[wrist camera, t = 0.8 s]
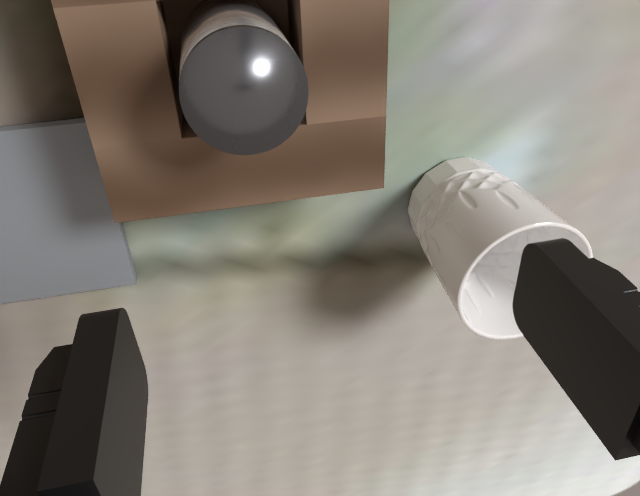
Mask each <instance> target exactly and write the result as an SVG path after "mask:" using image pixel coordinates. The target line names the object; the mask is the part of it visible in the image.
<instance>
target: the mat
mask: <svg viewBox="0 0 640 496" xmlns="http://www.w3.org/2000/svg"><path fill="white" fill-rule="evenodd" d="M136 281H137V275H136V272H135V268H134V264H133V261H132V257H131V254H130V250H129V247H128V243H127V239H126V236H125V232H124V229H123V225H122V222H119V223H115V222H114V219H113V215H112V212H111V208H110V205H109V201H108V198H107V194H106V191H105V187H104V184H103V180H102V177H101V173H100V170H99V166H98V163H97V159H96V156H95V152H94V149H93V145H92V142H91V139H90V135H89V132H88V128H87V125H86V121H85V118H79V119H69V120H60V121H50V122H40V123H30V124H21V125H11V126H1V127H0V304H4V303H11V302H18V301H24V300H31V299H38V298H45V297H52V296H58V295H65V294H72V293H79V292H86V291H92V290H99V289H106V288H113V287H120V286H126V285H133V284H136Z"/></svg>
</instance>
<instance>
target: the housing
mask: <svg viewBox="0 0 640 496" xmlns="http://www.w3.org/2000/svg"><path fill="white" fill-rule="evenodd" d="M202 1H204V0H51V3H52V6H53V10H54V13H55V17H56V20H57V24H58V27H59V31H60V34H61V38H62V41H63V44H64V48H65V51H66V55H67V58H68V62H69V65H70V69H71V72H72V76H73V79H74V83H75V86H76V90H77V93H78V97H79V100H80V104H81V107H82V111H83V114H84V118H85V121H86V125H87V128H88V132H89V135H90V139H91V142H92V145H93V149H94V152H95V156H96V159H97V163H98V166H99V170H100V173H101V177H102V180H103V184H104V187H105V191H106V194H107V198H108V201H109V205H110V208H111V212H112V215H113V219H114V222H115V223H119V222H126V221H134V220H141V219H149V218H157V217H164V216H172V215H180V214H187V213H195V212H203V211H210V210H218V209H226V208H233V207H241V206H249V205H256V204H264V203H272V202H279V201H287V200H295V199H302V198H310V197H318V196H325V195H333V194H341V193H348V192H356V191H364V190H371V189H379V188H384V166H385V131H386V97H387V62H388V27H389V0H254V1H256V2H257V3H259V4H260V5H261V6H262V7H263V8H264V9H265V10H266V11H267V12H268V13H269V14H270V16H271V17H272V19H273V20H274V21H275V23H276V24H277V26H278V27H279V29H280V30H281V32H282V33H283V35H284V36H285V38H286V39H287V41H288V42H289V44H290V45H291V47H292V48H293V50H294V51H295V53H296V54H297V56H298V57H299V59H300V61H301V63H302V65H303V67H304V70H305V72H306V76H307V80H308V88H309V95H308V104H307V108H306V112H305V114H304V117H303V119H302V121H301V123H300V125H299V126H298V128H297V129H296V130H295V132H294V133H293V134H292V135H291V136H290V137H289V138H288V139H287V140H286V141H284V142H283V143H282V144H280V145H279V146H277V147H275V148H274V149H271V150H269V151H266V152H263V153H260V154H254V155H235V154H229V153H226V152H223V151H220V150H218V149H216V148H213V147H212V146H210V145H209V144H207V143H206V142H204V141H203V140H202V139H201V138H200V137H199V136H198V135H197V134H196V133H195V132H194V131H193V130H192V128H191V127H190V126H189V124H188V122H187V120H186V119H185V116H184V114H183V111H182V108H181V104H180V98H179V76H180V54H181V36H182V30H183V27H184V24H185V22H186V20H187V18H188V16H189V15H190V13H191V12H192V11H193V9H194V8H195V7H196V6H197V5H198V4H200V3H201V2H202Z"/></svg>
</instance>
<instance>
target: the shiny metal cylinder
mask: <svg viewBox="0 0 640 496" xmlns="http://www.w3.org/2000/svg"><path fill="white" fill-rule="evenodd" d="M308 95H309V88H308V80H307V76H306V72H305V70H304V67H303V65H302V63H301V61H300V59H299V57H298V56H297V54H296V53H295V51H294V50H293V48H292V47H291V45H290V44H289V42H288V41H287V39H286V38H285V36H284V35H283V33H282V32H281V30H280V29H279V27H278V26H277V24H276V23H275V21H274V20H273V19H272V17H271V16H270V14H269V13H268V12H267V11H266V10H265V9H264V8H263V7H262V6H261V5H260V4H259V3H257V2H256V1H254V0H204V1H202V2H201V3H200V4H198V5H197V6H196V7H195V8H194V9H193V11H192V12H191V13H190V15H189V16H188V18H187V20H186V22H185V24H184V27H183V30H182V36H181V54H180V76H179V98H180V104H181V108H182V111H183V114H184V116H185V119H186V120H187V122H188V124H189V126H190V127H191V128H192V130H193V131H194V132H195V133H196V134H197V135H198V136H199V137H200V138H201V139H202V140H203V141H204V142H206V143H207V144H209V145H210V146H212V147H213V148H216V149H218V150H220V151H223V152H226V153H229V154H235V155H254V154H260V153H263V152H266V151H269V150H271V149H274V148H275V147H277V146H279V145H280V144H282V143H283V142H284V141H286V140H287V139H288V138H289V137H290V136H291V135H292V134H293V133H294V132H295V130H296V129H297V128H298V126H299V125H300V123H301V121H302V119H303V117H304V114H305V112H306V108H307V104H308Z"/></svg>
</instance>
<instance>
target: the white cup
mask: <svg viewBox="0 0 640 496" xmlns="http://www.w3.org/2000/svg"><path fill="white" fill-rule="evenodd" d="M408 214H409V218H410V222H411V226H412V229H413V231H414V232H415V234H416V236H417V238H418V239H419V241H420V244H421V246H422V249H423V251H424V253H425V255H426V257H427V258H428V260H429V262H430V264H431V266H432V268H433V270H434V272H435V274H436V275H437V277H438V279H439V281H440V282H441V284H442V286H443V288H444V289H445V291H446V293H447V295H448V297H449V298H450V300H451V302H452V304H453V305H454V307H455V309H456V311H457V313H458V314H459V316H460V318H461V320H462V321H463V323H464V324H465V326H466V327H467V328H468V329H470V330H471V331H472V332H474V333H475V334H477V335H479V336H482V337H485V338H490V339H499V340H504V339H513V338H518V337H522V336H524V335H523V334H522V333H521V331H520V330H519V328H518V326H517V324H516V321H515V318H514V314H513V297H514V292H515V287H516V282H517V277H518V272H519V267H520V262H521V257H522V252H523V250H524V248H525V246H526V245H527V244H529V243H535V242H542V241H548V240H554V239H560V238H565V239H568V240H570V241H571V242H572V243H573V244H574V245H575V246H576V247H577V248H578V249H579V250H580V251H581V252H582V253H584V254H585V255H586V256H587V257H588V258H589V259H590V258H593V255H592V250H591V247H590V244H589V242H588V241H587V239H586V238H585V236H584V235H583V234H582V233H581V232H579V231H578V230H577V229H575V228H574V227H573V226H572V225H570V224H569V223H568V222H566V221H565V220H564V219H562V218H561V217H560V216H558V215H557V214H556V213H555V212H553V211H552V210H551V209H549V208H548V207H547V206H546V205H544V204H543V203H542V202H541V201H539V200H538V199H537V198H535V197H534V196H533V195H531V194H530V193H529V192H527V191H526V190H524V189H522V188H521V187H520V186H519V185H517V184H516V183H515V182H513V181H512V180H510V179H508V178H507V177H505V176H503V175H501V174H500V173H499V172H498V171H496V170H495V169H494V168H493V167H491V166H490V165H489V164H487V163H486V162H483V161H480V160H476V159H473V158H470V157H462V158H457V159H451V160H446V161H444V162H442V163H441V164H439V165H437V166H436V167H434V168H433V169H431V170H429V171H428V172H426V173H425V174H424V176H423V177H422V179H421V180H420V181H419V183H418V184H417V185H416V187H415V188H414V189H413V191H412V194H411V198H410V202H409V206H408Z"/></svg>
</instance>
